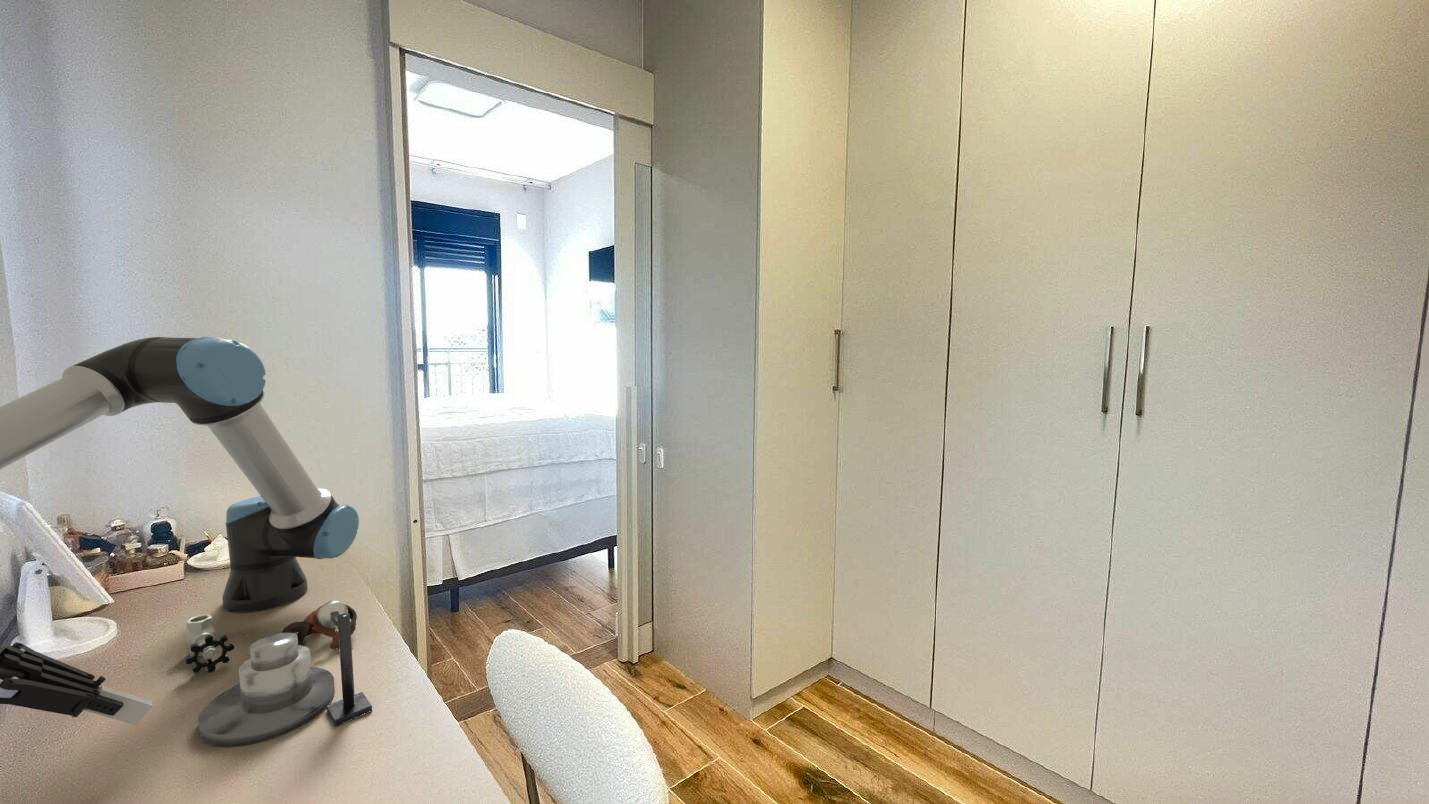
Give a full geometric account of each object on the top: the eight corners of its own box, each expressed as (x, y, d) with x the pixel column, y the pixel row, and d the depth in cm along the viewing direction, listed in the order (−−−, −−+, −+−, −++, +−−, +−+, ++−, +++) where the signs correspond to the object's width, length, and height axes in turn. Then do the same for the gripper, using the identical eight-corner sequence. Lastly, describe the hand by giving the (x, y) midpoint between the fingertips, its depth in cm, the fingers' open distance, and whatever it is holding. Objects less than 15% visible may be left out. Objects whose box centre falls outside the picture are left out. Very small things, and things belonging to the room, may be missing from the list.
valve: (176, 655, 106) (187, 680, 98) (173, 621, 105) (183, 644, 98) (222, 641, 111) (236, 664, 103) (219, 608, 110) (233, 629, 103)
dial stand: (319, 698, 94) (313, 606, 92) (354, 685, 97) (348, 596, 96) (335, 726, 87) (328, 627, 85) (372, 711, 91) (366, 615, 89)
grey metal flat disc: (193, 709, 91) (192, 697, 90) (320, 666, 103) (319, 655, 103) (206, 765, 79) (205, 751, 79) (347, 708, 91) (347, 696, 91)
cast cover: (239, 694, 91) (235, 641, 90) (307, 672, 98) (304, 622, 97) (244, 722, 85) (239, 665, 84) (317, 696, 91) (313, 643, 90)
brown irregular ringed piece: (333, 627, 118) (351, 595, 117) (351, 660, 113) (369, 627, 112) (266, 638, 107) (284, 603, 106) (282, 675, 103) (302, 639, 102)
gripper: (-96, 656, 69) (118, 718, 83) (-125, 704, 60) (120, 764, 74) (-30, 599, 72) (165, 668, 86) (-49, 637, 63) (172, 707, 77)
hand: (144, 713), depth 80 cm, fingers closed
